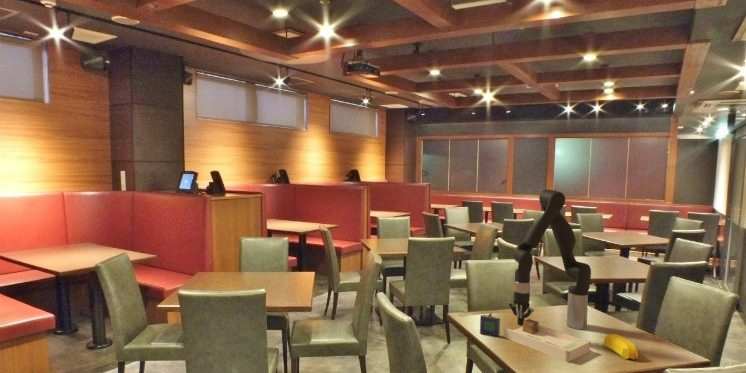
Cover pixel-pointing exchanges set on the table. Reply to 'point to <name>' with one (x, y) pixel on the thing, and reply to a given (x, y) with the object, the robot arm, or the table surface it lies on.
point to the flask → (490, 325)
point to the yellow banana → (621, 346)
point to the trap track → (550, 342)
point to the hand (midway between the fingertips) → (520, 325)
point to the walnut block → (530, 326)
